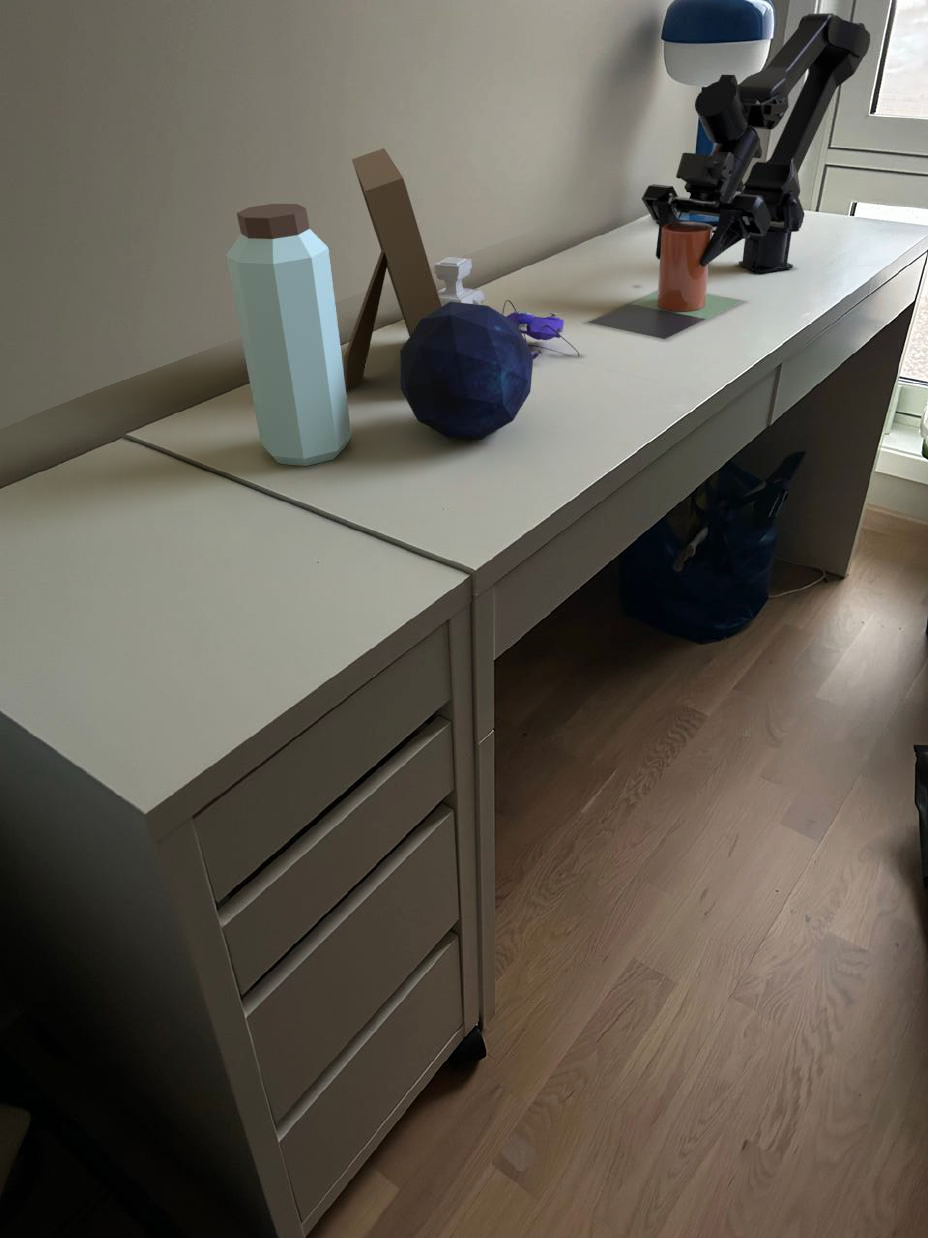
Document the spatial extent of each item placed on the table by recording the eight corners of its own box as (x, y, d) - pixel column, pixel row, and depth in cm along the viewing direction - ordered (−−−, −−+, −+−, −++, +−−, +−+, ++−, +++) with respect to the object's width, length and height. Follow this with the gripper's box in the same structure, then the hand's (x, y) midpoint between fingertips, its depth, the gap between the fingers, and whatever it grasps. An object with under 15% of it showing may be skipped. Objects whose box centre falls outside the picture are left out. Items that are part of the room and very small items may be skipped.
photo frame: (440, 338, 134) (428, 144, 120) (465, 393, 117) (454, 173, 102) (336, 349, 133) (311, 153, 118) (346, 406, 115) (317, 184, 101)
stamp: (418, 322, 141) (414, 263, 136) (441, 309, 146) (437, 252, 141) (471, 329, 137) (468, 269, 132) (492, 315, 142) (490, 257, 137)
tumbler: (673, 295, 145) (679, 219, 139) (714, 302, 141) (722, 224, 135) (647, 306, 141) (652, 228, 135) (688, 314, 137) (695, 234, 131)
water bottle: (266, 435, 109) (225, 203, 95) (353, 428, 109) (325, 196, 95) (258, 473, 101) (212, 225, 86) (352, 465, 101) (321, 217, 87)
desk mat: (668, 288, 149) (668, 287, 149) (742, 301, 142) (742, 300, 141) (588, 323, 137) (588, 321, 137) (665, 340, 129) (665, 338, 129)
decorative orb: (552, 357, 110) (470, 256, 103) (567, 407, 98) (474, 295, 91) (459, 432, 115) (375, 339, 108) (461, 488, 103) (367, 387, 96)
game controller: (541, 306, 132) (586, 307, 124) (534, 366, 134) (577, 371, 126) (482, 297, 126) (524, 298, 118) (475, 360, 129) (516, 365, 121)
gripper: (653, 123, 136) (604, 219, 136) (772, 130, 125) (720, 235, 125) (678, 173, 145) (633, 264, 145) (791, 184, 134) (743, 282, 134)
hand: (679, 261), depth 137 cm, fingers closed on tumbler, 7 cm apart
